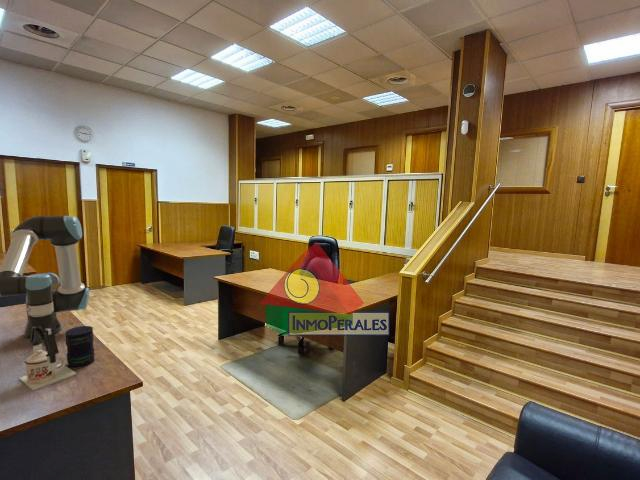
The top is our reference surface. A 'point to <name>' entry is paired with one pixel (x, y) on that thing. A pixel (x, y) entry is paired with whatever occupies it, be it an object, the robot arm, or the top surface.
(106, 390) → the top surface
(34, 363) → the teacup with lid
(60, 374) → the coaster
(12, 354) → the top surface
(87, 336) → the dark blue canister
